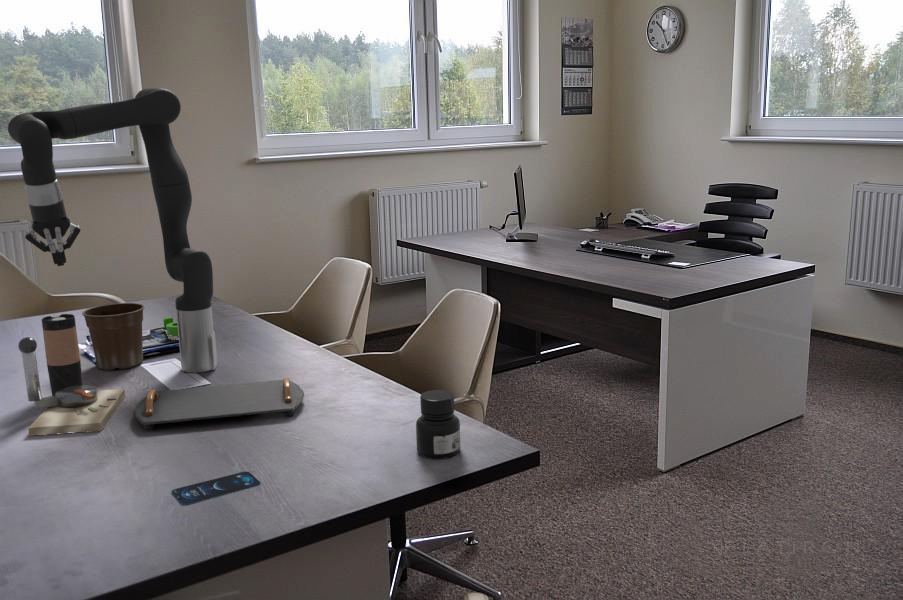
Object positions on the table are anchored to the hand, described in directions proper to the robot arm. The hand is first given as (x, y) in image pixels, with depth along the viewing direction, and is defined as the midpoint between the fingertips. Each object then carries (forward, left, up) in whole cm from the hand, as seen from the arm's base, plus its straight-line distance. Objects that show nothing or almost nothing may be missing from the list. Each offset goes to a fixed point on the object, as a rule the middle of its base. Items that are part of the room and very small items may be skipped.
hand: (60, 264), depth 209 cm
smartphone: (-43, +68, -33) cm, 87 cm away
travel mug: (+1, +4, -33) cm, 33 cm away
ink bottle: (-86, +59, -33) cm, 109 cm away
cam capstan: (-4, +20, -30) cm, 37 cm away
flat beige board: (-6, +21, -33) cm, 39 cm away
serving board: (-39, +23, -33) cm, 56 cm away
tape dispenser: (-17, -52, -33) cm, 64 cm away
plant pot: (-6, -21, -33) cm, 40 cm away
